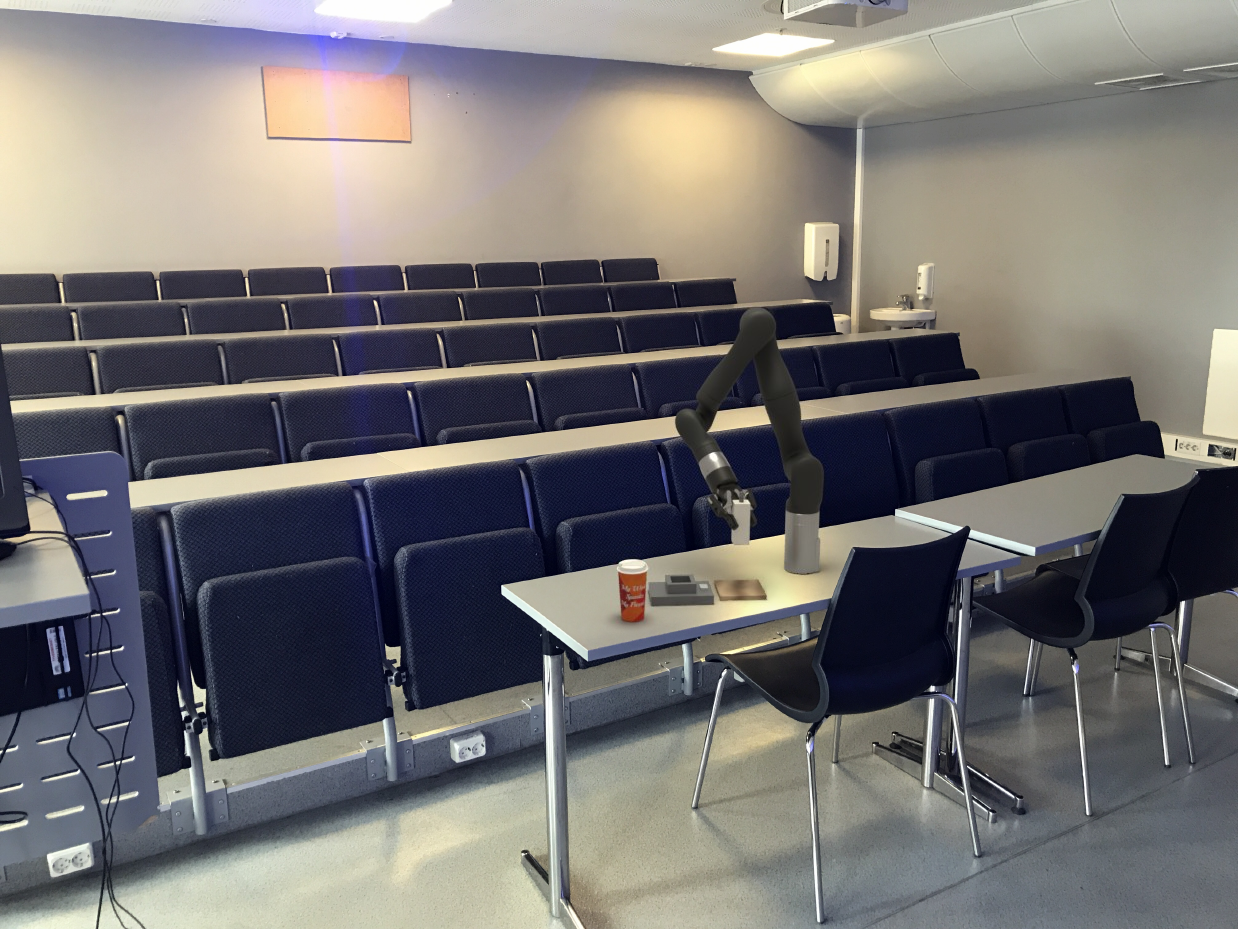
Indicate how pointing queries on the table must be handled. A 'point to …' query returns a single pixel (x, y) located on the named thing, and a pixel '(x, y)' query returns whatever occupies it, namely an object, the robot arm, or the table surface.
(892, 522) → the table surface
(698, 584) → the gray socket base
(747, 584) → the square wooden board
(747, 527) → the plug
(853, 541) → the table surface
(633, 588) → the paper cup
